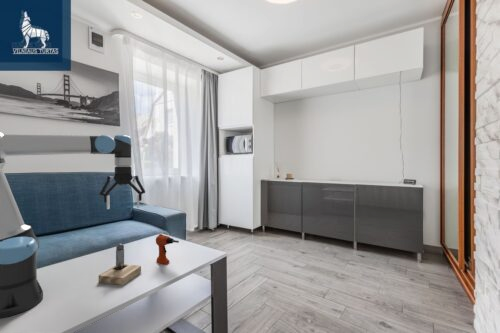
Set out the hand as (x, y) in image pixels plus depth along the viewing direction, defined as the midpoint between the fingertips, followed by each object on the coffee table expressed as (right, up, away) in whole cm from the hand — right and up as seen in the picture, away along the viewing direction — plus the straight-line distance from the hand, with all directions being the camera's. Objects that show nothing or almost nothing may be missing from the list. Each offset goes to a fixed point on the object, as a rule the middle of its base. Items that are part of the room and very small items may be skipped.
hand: (123, 208), depth 120 cm
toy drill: (+22, -29, 0) cm, 37 cm away
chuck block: (+6, -29, -13) cm, 32 cm away
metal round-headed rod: (+4, -28, -10) cm, 30 cm away
